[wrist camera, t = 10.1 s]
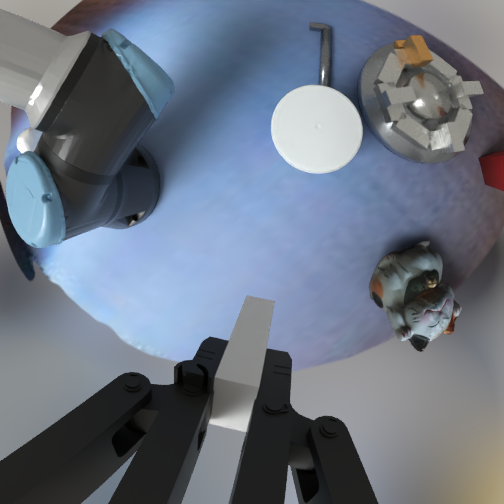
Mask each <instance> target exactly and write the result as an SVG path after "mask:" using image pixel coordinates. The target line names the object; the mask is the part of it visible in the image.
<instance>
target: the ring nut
mask: <svg viewBox="0 0 504 504" xmlns="http://www.w3.org/2000/svg"><path fill="white" fill-rule="evenodd" d="M402 45H403V47H404V49H394V50H393V51H392V52H390V53H389V54H388V55H387V57H386V58H385V60H384V62H383V64H382V66H381V68H380V70H379V73H378V75H377V77H376V79H375V81H374V83H373V84H375V85H376V86H375V87H374V88H373V90H374V92H375V95H376V97H377V100H378V102H379V105H380V108H381V110H382V113H383V116H384V119H385V122H386V124H388V123H393V124H392V126H391V128H390V129H391V130H393V131H394V132H396V133H397V134H399V135H400V136H401V137H403V138H404V139H406V140H407V141H409V142H410V143H411V144H413V145H414V146H416V147H417V148H418V149H420V150H421V149H424V150H425V151H429V150H435V149H440V148H441V149H442V152H443V153H451V152H458V151H463V150H465V148H464V144H463V141H464V138H465V135H466V133H467V130H468V127H469V124H470V121H471V118H472V115H473V114H472V113H471V112H470V111H469V110H470V109H473V108H472V105H471V102H470V99H469V98H473V97H476V96H479V95H482V94H484V93H483V90H482V87H481V85H480V82H479V81H465V82H463V80H462V78H461V76H456V73H457V70H455V69H454V68H453V67H452V66H450V65H449V64H448V63H447V62H445V61H444V60H443V59H441V58H440V57H439V56H437V55H436V54H435V53H433V52H432V51H431V50H429V49H428V47H427V45H426V43H425V41H424V39H423V37H422V36H421V35H413V36H409V37H408V39H407V40H406V41H405V42H404V43H403V44H402ZM419 67H422V68H423V69H425V70H426V71H427V72H429V73H430V74H431V75H433V76H435V77H436V78H438V79H439V80H440V81H441V82H442V83H443V84H444V86H445V87H446V89H447V91H448V93H449V97H450V103H451V106H452V112H451V114H450V117H449V119H448V122H447V123H444V124H440V125H436V126H435V128H436V131H431V132H430V131H429V130H427V129H426V128H425V127H423V126H422V125H421V124H419V123H418V122H417V121H415V120H414V119H413V118H411V117H410V116H408V115H407V114H406V112H405V109H404V107H403V106H408V105H409V104H411V103H413V102H415V101H417V98H416V96H415V93H414V90H413V88H412V86H408V87H401V88H396V86H395V85H396V83H397V81H398V79H399V76H400V74H401V72H402V70H403V69H408V68H419Z"/></svg>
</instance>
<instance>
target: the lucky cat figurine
mask: <svg viewBox="0 0 504 504" xmlns="http://www.w3.org/2000/svg"><path fill="white" fill-rule="evenodd" d="M429 244H430V241H422V242H420V243H418V244H417V245H415V246H413V247H411V248H408V249H404V250H400V251H395V252H392V253H389V254H388V255H386V256H385V257H383V258H382V260H381V261H380V262H379V263H378V265H377V267H376V269H375V271H374V273H373V275H372V278H371V280H370V285H369V290H370V297H371V298H372V299H373V300H374V302H375V303H376V304H377V306H379V307H380V308H381V309H383V310H384V311H385V312H386V313H387V315H388V317H389V320H390V322H391V324H392V326H393V331H394V333H395V334H396V336H397V338H398V339H399V340H400V341H404V340H407V339H409V340H410V342H411V344H412V346H413V347H414V348H415V349H416V350H417V351H420V352H422V351H423V350H424V348H425V347H426V346H427V344H428V343H429V342H430V341H431V340H432V339H435V338H437V337H438V336H439V335H440V334H442V333H445V334H452V333H454V325H455V324H454V322H455V320H456V318H457V316H458V315H459V314H460V311H461V309H462V308H461V306H460V305H459V304H458V303H456V301H455V300H454V293H453V291H452V289H451V287H450V286H449V285H445V284H444V282H443V280H442V278H441V276H442V267H443V264H442V259H441V257H440V255H439V254H438V253H437V252H435V251H433V250H431V249H430V248H429Z"/></svg>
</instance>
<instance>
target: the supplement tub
mask: <svg viewBox="0 0 504 504" xmlns="http://www.w3.org/2000/svg"><path fill="white" fill-rule="evenodd" d="M271 133H272V138H273V141H274V144H275V146H276V148H277V150H278V152H279V153H280V154H281V156H282V157H283V158H284V159H285V160H286V161H287V162H288V163H289V164H290V165H291V166H293V167H294V168H296V169H299V170H301V171H305V172H309V173H328V172H332V171H335V170H338V169H340V168H341V167H343V166H345V165H346V164H347V163H348V162H349V161H351V159H352V158H353V157H354V156H355V155H356V153H357V152H358V150H359V148H360V145H361V142H362V136H363V127H362V121H361V118H360V115H359V113H358V111H357V109H356V107H355V106H354V104H353V103H352V102H351V101H350V100H349V99H348V98H347V97H346V96H345V95H344V94H342V93H340V92H339V91H337V90H335V89H333V88H330V87H327V86H322V85H306V86H302V87H299V88H296V89H294V90H292V91H291V92H289V93H288V94H286V95H285V96H284V97H283V98H282V99H281V101H280V102H279V103H278V105H277V106H276V108H275V111H274V113H273V116H272V121H271Z"/></svg>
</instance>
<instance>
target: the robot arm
mask: <svg viewBox="0 0 504 504" xmlns="http://www.w3.org/2000/svg"><path fill="white" fill-rule="evenodd" d="M173 93H174V83H173V81H172V79H171V78H170V77H169V76H168V74H167V73H166V72H165V71H164V70H163V69H162V68H161V67H160V66H159V65H158V64H156V63H155V62H154V61H153V60H152V59H151V58H150V57H149V56H148V55H146V54H145V53H144V52H143V51H142V50H141V49H139V48H138V47H137V46H136V45H134V44H132V43H131V42H130V41H129V40H128V39H126V38H125V37H124V36H123V35H122V34H120V33H119V32H118V31H116V30H114V29H109V30H107V31H106V32H104V33H103V34H102V36H101V37H99V36H97V35H95V34H93V33H91V32H89V31H86V32H83V33H80V34H76V35H73V36H65V35H63V34H61V33H58V32H56V31H54V30H52V29H50V28H47V27H45V26H43V25H40V24H38V23H36V22H33V21H31V20H28V19H26V18H23V17H21V16H18V15H15V14H13V13H10V12H7V11H4V10H1V9H0V102H3V103H6V104H9V105H12V106H15V107H18V108H20V109H23V110H25V111H26V113H27V115H28V118H29V122H30V125H31V128H32V129H35V130H38V131H41V132H43V133H42V135H41V137H40V139H39V141H38V143H37V146H36V148H35V150H34V151H33V152H32V151H25V152H24V153H22V154H20V155H19V156H17V157H16V158H15V159H14V160H13V162H12V164H11V166H10V168H9V171H8V175H7V182H6V199H7V205H8V210H9V214H10V217H11V220H12V223H13V225H14V227H15V229H16V231H17V232H18V234H19V235H20V237H21V238H22V239H23V240H24V241H25V242H26V243H27V244H29V245H31V246H33V247H36V248H37V247H38V248H44V247H47V246H51V245H58V244H60V243H62V241H64V240H67V239H69V238H72V237H75V236H77V235H80V234H82V233H85V232H88V231H90V230H93V229H96V228H98V227H101V226H102V227H107V228H113V229H126V228H129V227H132V226H135V225H137V224H139V223H141V222H142V221H144V220H145V219H146V218H147V217H148V216H149V215H150V213H151V212H152V211H153V209H154V207H155V205H156V202H157V200H158V196H159V190H160V178H159V172H158V169H157V166H156V163H155V161H154V159H153V158H152V156H151V155H150V154H149V153H148V152H147V151H146V150H145V149H144V148H143V147H141V146H139V145H137V144H138V143H139V141H140V140H141V138H142V137H143V136H144V134H145V133H146V132H147V130H148V129H149V127H150V126H151V125H152V123H153V122H154V121H155V120H157V119H158V118H159V114H160V112H161V111H162V109H163V108H164V106H165V105H166V104H167V102H168V101H169V100H170V98H171V97H172V95H173ZM274 302H275V301H271V300H266V299H261V298H257V297H252V296H246V299H245V301H244V304H243V306H242V309H241V311H240V314H239V317H238V319H237V322H236V324H235V327H234V329H233V332H232V334H231V337H230V340H229V341H227V340H223V339H218V338H214V337H209V338H207V339H206V340H204V341H203V342H202V343H201V345H200V347H199V349H198V351H197V353H196V355H195V356H194V358H193V360H186V361H182V362H180V363H178V364H177V365H176V366H175V367H174V384H170V385H157V384H151V383H150V381H149V379H148V378H146V377H145V376H144V375H142V374H140V373H134V372H130V373H124V374H122V375H120V376H118V377H117V378H116V379H114V380H113V381H112V382H110V383H109V384H108V385H106V386H105V387H104V388H102V389H101V390H100V391H98V392H97V393H95V394H94V395H93V396H91V397H90V398H89V399H87V400H86V401H85V402H83V403H82V404H81V405H79V406H78V407H76V408H75V409H74V410H72V411H71V412H69V413H68V414H67V415H65V416H64V417H62V418H61V419H60V420H58V421H57V422H56V423H54V424H53V425H51V426H50V427H49V428H47V429H46V430H44V431H43V432H42V433H40V434H39V435H37V436H36V437H35V438H33V439H32V440H30V441H29V442H27V443H26V444H24V445H23V446H22V447H20V448H19V449H17V450H16V451H14V452H13V453H11V454H10V455H9V456H7V457H6V458H4V459H3V460H1V461H0V504H81V503H82V502H83V501H84V500H85V499H87V498H88V497H89V496H90V495H91V494H92V493H93V492H94V491H95V490H96V489H98V488H99V486H101V485H102V484H103V483H104V482H105V481H106V480H107V479H108V478H109V477H110V476H111V475H112V474H113V473H114V472H116V471H117V470H118V469H119V468H120V467H121V466H122V465H123V464H124V463H125V462H126V461H127V460H128V459H129V458H130V457H131V456H132V455H133V454H134V453H135V452H136V451H137V452H136V454H135V456H134V458H133V459H132V461H131V463H130V465H129V467H128V469H127V471H126V472H125V474H124V476H123V478H122V480H121V481H120V483H119V485H118V487H117V489H116V491H115V492H114V494H113V496H112V498H111V500H110V502H109V503H108V504H181V503H182V500H183V497H184V494H185V492H186V489H187V486H188V484H189V481H190V478H191V475H192V473H193V470H194V467H195V464H196V462H197V459H198V456H199V453H200V450H201V448H202V445H203V442H204V439H205V436H206V432H207V426H208V423H209V420H210V424H214V425H218V426H222V427H226V428H230V429H235V430H239V431H244V432H246V436H245V440H244V443H243V446H242V450H241V456H240V460H239V464H238V468H237V473H236V477H235V481H234V485H233V489H232V493H231V497H230V500H229V504H284V500H285V491H286V481H287V471H288V465H290V466H291V471H292V475H293V480H294V484H295V488H296V493H297V497H298V501H299V504H378V502H377V499H376V497H375V494H374V492H373V489H372V487H371V484H370V482H369V480H368V477H367V475H366V472H365V470H364V467H363V465H362V462H361V460H360V458H359V455H358V453H357V450H356V448H355V446H354V443H353V441H352V438H351V436H350V434H349V431H348V429H347V427H346V426H345V424H344V423H343V422H342V421H341V420H339V419H338V418H335V417H332V416H322V417H318V418H317V419H315V420H311V419H309V418H306V417H304V416H302V415H300V414H298V413H297V412H296V411H295V410H294V409H293V408H292V406H291V404H290V389H291V371H292V370H291V369H292V359H291V357H290V356H289V354H288V352H283V351H278V350H272V349H267V343H268V337H269V331H270V325H271V320H272V314H273V308H274Z"/></svg>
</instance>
